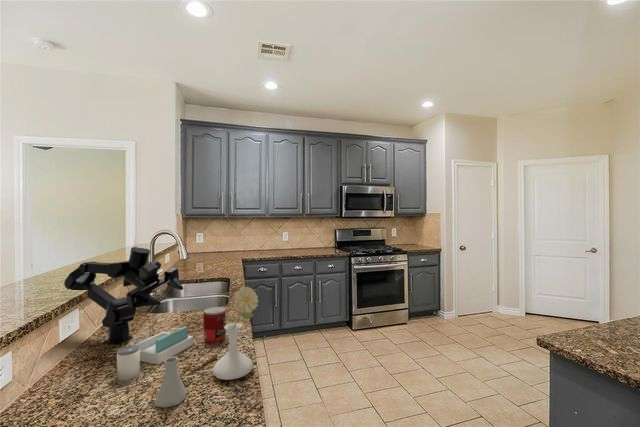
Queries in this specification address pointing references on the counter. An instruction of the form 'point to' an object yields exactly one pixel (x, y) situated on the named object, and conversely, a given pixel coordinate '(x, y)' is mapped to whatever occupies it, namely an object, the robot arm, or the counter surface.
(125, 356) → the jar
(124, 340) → the robot arm
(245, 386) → the counter surface
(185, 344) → the lane
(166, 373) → the flask
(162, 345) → the pusher
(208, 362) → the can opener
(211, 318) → the canned food
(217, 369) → the flower in vase
